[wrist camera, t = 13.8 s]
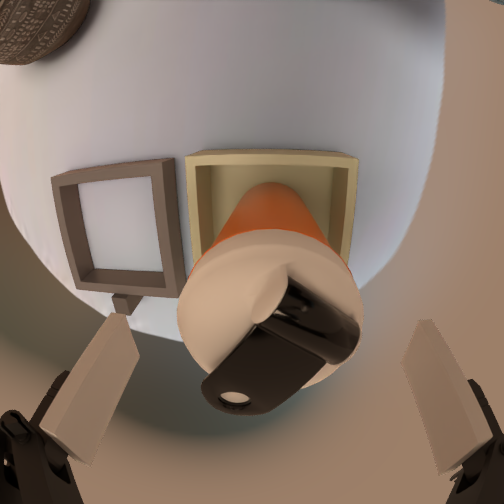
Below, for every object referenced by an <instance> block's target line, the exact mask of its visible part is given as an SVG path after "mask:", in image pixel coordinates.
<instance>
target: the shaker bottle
mask: <svg viewBox="0 0 504 504" xmlns="http://www.w3.org/2000/svg"><path fill="white" fill-rule="evenodd" d="M363 320H364V315H363V303H362V300H361V297H360V293H359V290H358V288H357V286H356V284H355V282H354V279H353V277H352V274H351V271H350V270H349V268H348V266H347V265H346V263H345V262H344V260H343V259H342V257H340V256H339V255H338V254H337V253H336V252H335V251H334V250H333V249H332V248H331V246H330V245H329V243H328V241H327V239H326V238H325V236H324V234H323V233H322V231H321V229H320V228H319V226H318V225H317V223H316V221H315V220H314V218H313V216H312V215H311V213H310V212H309V210H308V208H307V207H306V205H305V204H304V202H303V200H302V199H301V198H300V196H299V195H298V194H297V193H296V192H295V191H294V190H293V189H291V188H290V187H288V186H286V185H283V184H281V183H274V182H268V183H262V184H259V185H256V186H254V187H252V188H251V189H250V190H248V191H247V192H246V193H245V194H244V195H243V196H242V198H241V200H240V201H239V203H238V204H237V206H236V207H235V209H234V211H233V212H232V214H231V215H230V217H229V219H228V220H227V222H226V224H225V225H224V227H223V228H222V230H221V232H220V233H219V235H218V237H217V238H216V240H215V241H214V243H213V245H212V246H211V248H210V249H208V250H207V251H206V252H205V253H204V254H203V255H202V256H201V258H200V259H199V260H198V261H197V262H196V263H195V265H194V267H193V269H192V271H191V273H190V275H189V277H188V281H187V283H186V285H185V287H184V289H183V291H182V293H181V295H180V298H179V303H178V307H177V323H178V327H179V331H180V334H181V337H182V339H183V341H184V343H185V345H186V347H187V348H188V350H189V351H190V353H191V355H192V356H193V358H194V359H195V360H196V361H197V363H198V364H199V365H200V366H201V367H202V368H203V369H204V370H205V371H206V372H208V373H209V375H208V376H207V377H206V378H205V379H204V380H203V382H202V384H201V390H202V394H203V395H204V397H205V399H206V400H207V402H208V403H209V404H211V405H212V406H213V407H214V408H216V409H218V410H220V411H222V412H225V413H229V414H234V415H248V416H251V415H252V416H253V415H260V414H265V413H267V412H270V411H271V410H273V409H275V408H276V407H277V406H279V405H280V404H282V403H283V402H284V401H286V400H287V399H288V398H290V397H291V396H292V395H293V394H295V393H296V392H297V391H298V390H299V389H302V388H305V387H308V386H310V385H313V384H315V383H317V382H319V381H321V380H323V379H324V378H326V377H327V376H329V375H330V374H332V373H333V372H334V371H335V370H336V369H337V368H338V367H339V366H341V364H343V363H345V362H347V361H348V360H349V359H350V358H351V357H352V356H353V355H354V354H355V353H356V351H357V349H358V347H359V345H360V342H361V338H362V325H363Z"/></svg>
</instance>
